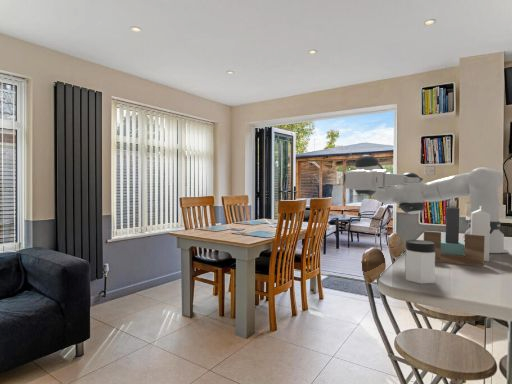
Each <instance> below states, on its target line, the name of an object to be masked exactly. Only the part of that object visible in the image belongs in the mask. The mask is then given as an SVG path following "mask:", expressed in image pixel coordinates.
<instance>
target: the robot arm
mask: <svg viewBox="0 0 512 384" xmlns="http://www.w3.org/2000/svg"><path fill="white" fill-rule="evenodd" d="M379 162H380V161H379V159H378V158H376V157H375V156H374V155H370V154H363V155H360V156H359V157H358V158H356V160H355V162H354V164H355V166H354V167H355V169H352V170H347V171H346V170H345V172H344V173H343V181H342V182H343V185H342V186H343V187H344V189H347V190H354V191H355V192H356V194H357V195H358V196H367V197H371V196H373V197H374V199H375V200H376V201H378V202H380V203H382V204H386V205H392V204H398V209H401V211H403V212H405V214H409V215H416V214H419V213H422V212H423V211H424V210H425V203H424V202H427V203H431V202H433V203H434V202H441V201H442V202H443V201H447V200H452V199H457V198H462V197H467V196H469V200H470V214H471V213H472V212H474V211H477V210H479V209H480V206H482V211H484V212H486V213H488V214H490V238H489V254H501V253H502V254H509V252H510V250H508V249H506V248H505V234H504V233H503V232H502V231H500V229H501V222H500V200H499V195H498V194H499V193H498V189H500V187H501V186H502V185H503V183H504V177H503V174H502V173H501V172H500V171H499V170H497V169H494V168H490V167H485V166H482V167H476V168H474V169H472V170H471V171H470V172H464V173H460V174H455V175H450V176H445V177H442V178H438V179H435V180H431V181H428V182H422V181H424V178H423V177H420V175H418V174H416V173H414V172H404V173H401V174H400V173H392V172H391V171H389V172H388V170H387V169H384V167H383V166H382V165H381V164H380V163H379ZM468 227H469V228H468V229H466V231H465V233H464V234H463V243H464V249H465V234H471V216H470V219H469V221H468Z"/></svg>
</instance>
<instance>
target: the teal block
mask: <svg viewBox="0 0 512 384" xmlns="http://www.w3.org/2000/svg"><path fill="white" fill-rule="evenodd" d="M464 243H465V242H464V241H459V244H454V243H446V242H445V239H444V240H442V239H441V253H443V254H452V255H462V256H464Z"/></svg>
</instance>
